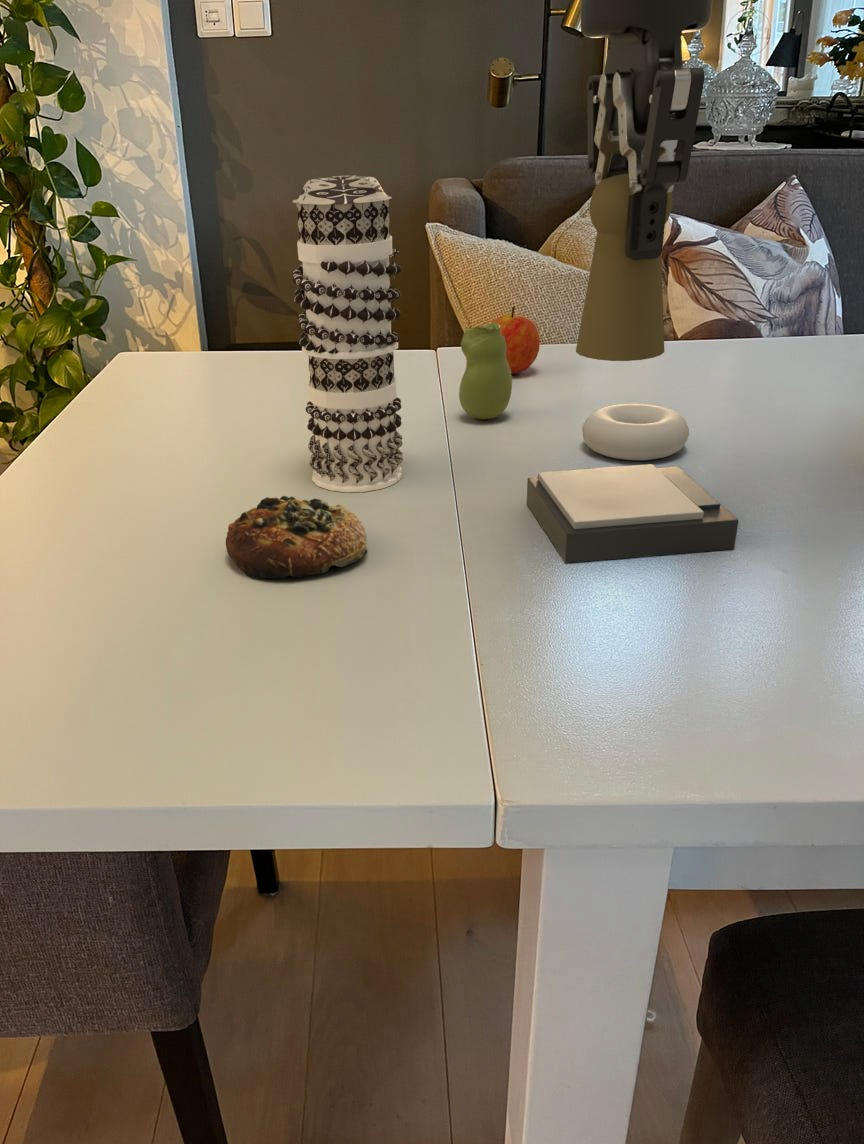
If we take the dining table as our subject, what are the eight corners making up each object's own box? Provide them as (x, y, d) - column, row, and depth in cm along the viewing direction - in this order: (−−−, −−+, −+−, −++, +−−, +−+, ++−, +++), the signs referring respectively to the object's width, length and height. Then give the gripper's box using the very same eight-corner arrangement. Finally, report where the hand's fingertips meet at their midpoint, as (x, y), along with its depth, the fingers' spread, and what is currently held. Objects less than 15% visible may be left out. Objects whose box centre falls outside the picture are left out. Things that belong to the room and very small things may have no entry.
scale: (674, 492, 82) (678, 459, 80) (734, 549, 71) (740, 512, 70) (526, 504, 81) (527, 470, 79) (565, 563, 70) (567, 526, 69)
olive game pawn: (658, 362, 63) (676, 177, 57) (567, 358, 65) (576, 179, 59) (669, 342, 67) (687, 169, 62) (584, 338, 69) (593, 171, 64)
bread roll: (207, 578, 70) (203, 511, 68) (248, 537, 80) (246, 478, 78) (356, 588, 68) (357, 520, 67) (379, 545, 79) (380, 485, 77)
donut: (587, 431, 98) (574, 461, 89) (589, 397, 96) (576, 425, 88) (688, 436, 95) (685, 468, 87) (692, 402, 93) (689, 431, 85)
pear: (480, 429, 99) (482, 330, 94) (448, 418, 103) (448, 322, 98) (520, 418, 102) (523, 322, 97) (487, 408, 106) (488, 314, 101)
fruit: (476, 368, 121) (476, 303, 117) (528, 364, 122) (530, 299, 118) (491, 382, 115) (492, 313, 111) (546, 377, 116) (549, 309, 112)
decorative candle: (426, 468, 89) (421, 173, 77) (369, 500, 83) (354, 183, 70) (347, 453, 94) (331, 172, 82) (288, 483, 87) (260, 182, 75)
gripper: (772, -88, 49) (728, 265, 57) (667, -49, 61) (643, 236, 69) (630, -83, 48) (606, 273, 56) (553, -45, 60) (543, 242, 69)
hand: (627, 251), depth 63 cm, fingers closed on olive game pawn, 5 cm apart
